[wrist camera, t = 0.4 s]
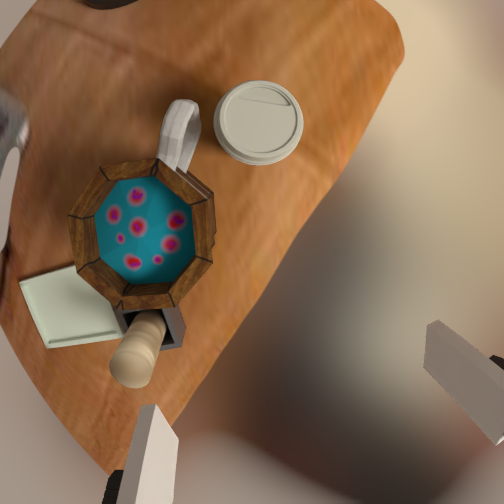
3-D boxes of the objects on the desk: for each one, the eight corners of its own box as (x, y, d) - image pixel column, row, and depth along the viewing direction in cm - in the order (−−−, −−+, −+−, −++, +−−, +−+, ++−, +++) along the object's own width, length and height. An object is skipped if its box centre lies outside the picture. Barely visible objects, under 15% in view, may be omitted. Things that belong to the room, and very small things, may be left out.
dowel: (136, 302, 39) (102, 356, 25) (165, 296, 39) (140, 350, 25) (146, 329, 40) (120, 389, 26) (174, 324, 40) (157, 385, 27)
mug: (201, 279, 40) (191, 333, 25) (109, 249, 38) (57, 286, 23) (249, 138, 36) (265, 112, 21) (151, 109, 34) (112, 72, 19)
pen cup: (127, 294, 39) (115, 309, 34) (171, 284, 39) (164, 299, 34) (143, 335, 41) (134, 354, 36) (185, 327, 41) (181, 346, 36)
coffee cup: (295, 134, 36) (326, 116, 25) (253, 182, 37) (267, 183, 26) (245, 93, 34) (255, 58, 23) (202, 141, 36) (192, 123, 24)
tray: (23, 279, 37) (19, 282, 36) (98, 257, 38) (95, 260, 36) (50, 344, 40) (47, 348, 39) (126, 332, 41) (123, 337, 39)
